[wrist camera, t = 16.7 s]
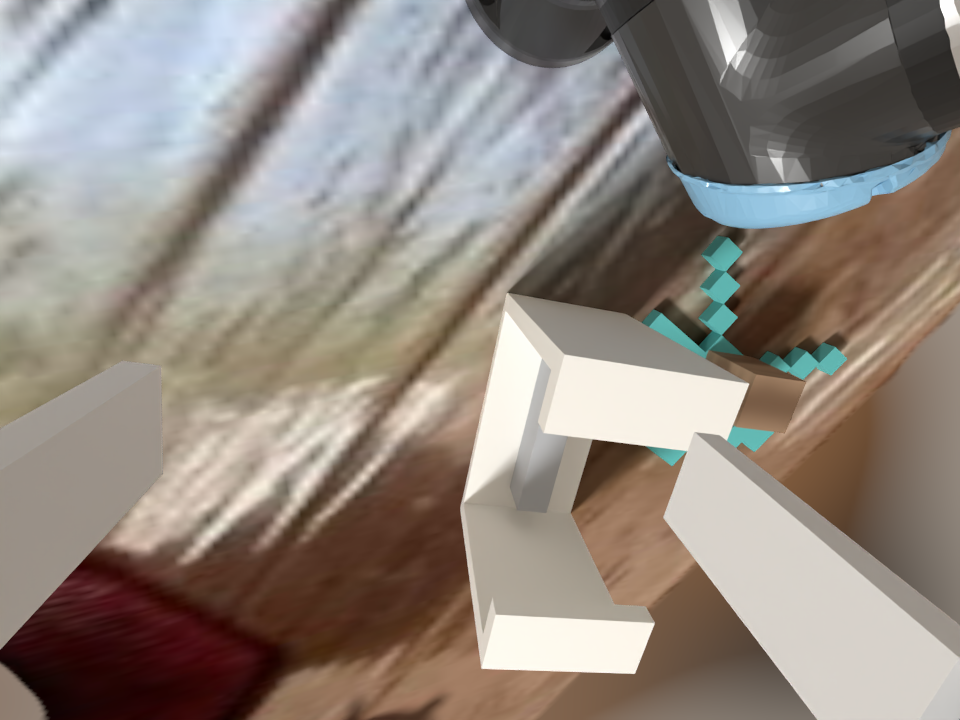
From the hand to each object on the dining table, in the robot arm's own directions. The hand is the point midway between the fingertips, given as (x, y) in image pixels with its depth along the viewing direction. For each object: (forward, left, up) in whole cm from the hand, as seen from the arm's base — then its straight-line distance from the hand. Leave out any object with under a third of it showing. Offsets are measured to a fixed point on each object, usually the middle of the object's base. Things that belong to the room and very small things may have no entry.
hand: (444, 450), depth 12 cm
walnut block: (+5, +31, -31) cm, 44 cm away
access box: (+13, +14, -33) cm, 38 cm away
